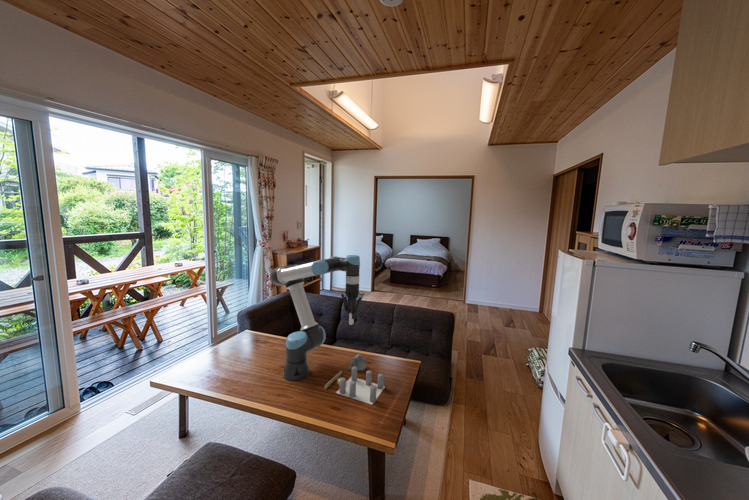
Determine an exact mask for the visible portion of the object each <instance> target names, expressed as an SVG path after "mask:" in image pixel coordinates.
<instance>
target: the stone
mask: <svg viewBox="0 0 749 500" xmlns="http://www.w3.org/2000/svg"><path fill="white" fill-rule="evenodd" d="M367 365H368V364H367V360H366V358H365V356H364V355H363V354H360V353H357V354H356V355H355V356H353V358H352V359H351V361H350V363H349V367H348V370H349V371H351V372H352V367H357V372H358V371H366V369H367Z"/></svg>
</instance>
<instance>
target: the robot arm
mask: <svg viewBox="0 0 749 500" xmlns="http://www.w3.org/2000/svg"><path fill="white" fill-rule="evenodd" d="M360 258H361V257H360V256H359V255H357V254H348V255H346V257H341V256H330V257H329V258H325V259H318V260H315V261H311V262H306V263H302V264H290V265H289V264H288V265H284V266H277V267H275V268H274V269H272V271H271V272H270V274H269V277H270V282H271V283H272V284H273V285H276V286H277V287H281V286H285V288H286V290H288V291H289V292H290V295H291V299H292V302H293V305H294V308H295V311H296V314H297V317H298V319H299V320H298V321H299V323H300V326H301V327H300V330H299V331H294V332H292V333H290V334H288V336H287V337H286V340H285V341H286V343H285V359H286V360H285V365H284V367H283V371H282V376H283V377H284V378H285V379H286V380H288V381H298V380H299V381H300V380H303V379H305V378H307V377H308V376H309V375H310V370H311V369H310V365H309V362H308V353H309V352H311V351H314V349H316V348H319V347H320V346H322V345H324V343H325V341H326V339H327V337H326V336H327V334H326V330H325V329H324V327H323V326H321V325H319V323H318V322H316V321H315V318H314V315H313V312H312V308H311V306H310V303H309V300H308V297H307V294H306V291H305V287H304V284H305V281H304V280H305V278H310V277H315V276H319V275H320V276H321V275H324V274H329V273H333V272H340V271H341V272H345V291H344V293H342V294H340V296H341V298H342V302H343V307H344V312H347V318H348V325H349V326H353V325H354V320H355V319H356V314H357V313H359V311H360V307H361V303H362V300H363V298H364V296H363V295H362V296H361V294H360V284H359V283H360V269H361V268H360V267H361V259H360Z"/></svg>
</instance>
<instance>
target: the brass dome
mask: <svg viewBox="0 0 749 500" xmlns="http://www.w3.org/2000/svg"><path fill="white" fill-rule="evenodd" d="M341 378H344V376H343V377H341V376H339V377H338V378H337V379H336V385H337V386H339V387H340V379H341Z"/></svg>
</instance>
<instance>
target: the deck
mask: <svg viewBox="0 0 749 500" xmlns="http://www.w3.org/2000/svg"><path fill="white" fill-rule="evenodd" d="M365 371H366V372H365V380H364V379H360V378H358V371H357V367H352V371H351V376H350V377H349V379H346V377H343V378H341V379H340V386H339V389H338V390H337V391H335V394H339V395H341V396H344V397H346V398H351V399H354V400H356V401H359V402H362V403H366V404H369V405H373V404H374V403H376V402H377V399H378V397H379V396H380V395H381V393H382V392H383V390H384V389H386V386H384V385H385V384H384V382H385V381H384V380H385V375H384V374H383V373H378V374H377V383H374V382H373V381H372V379H373V370H365ZM342 374H343V370H339V372H338V373H336V374H335V375H334V376H333V377H332V378H331V379H329V381H328V382H327V383H325V384H324V386H323V387H324V388H323V390H327V389H328V388H329V387H330V386H331V385H332V384H333V383H334V382H335V381H337V379H338V378H340V377H341V376H342Z"/></svg>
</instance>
